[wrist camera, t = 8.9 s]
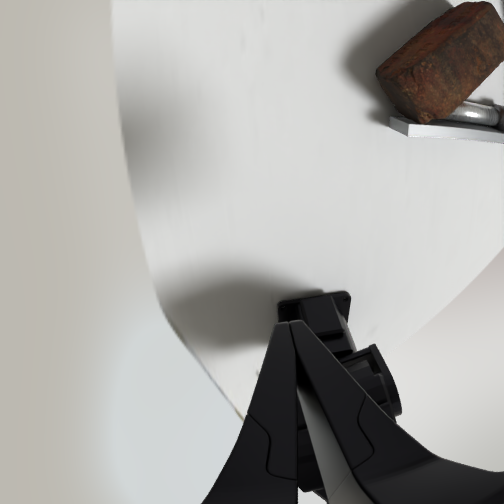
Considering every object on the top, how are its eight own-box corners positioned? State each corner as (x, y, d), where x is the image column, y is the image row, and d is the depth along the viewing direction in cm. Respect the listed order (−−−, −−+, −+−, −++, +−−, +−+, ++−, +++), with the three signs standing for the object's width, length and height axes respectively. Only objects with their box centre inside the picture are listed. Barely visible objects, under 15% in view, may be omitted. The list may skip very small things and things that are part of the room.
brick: (450, 2, 13) (491, -2, 9) (477, 43, 14) (519, 48, 10) (365, 74, 17) (400, 79, 13) (399, 117, 18) (437, 133, 14)
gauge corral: (516, 139, 18) (535, 148, 16) (389, 127, 18) (408, 136, 16) (511, -15, 10) (530, -15, 8) (370, -71, 10) (386, -83, 8)
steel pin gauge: (495, 128, 18) (512, 135, 16) (424, 119, 18) (441, 126, 16) (497, 103, 17) (514, 109, 15) (425, 90, 17) (442, 95, 15)
